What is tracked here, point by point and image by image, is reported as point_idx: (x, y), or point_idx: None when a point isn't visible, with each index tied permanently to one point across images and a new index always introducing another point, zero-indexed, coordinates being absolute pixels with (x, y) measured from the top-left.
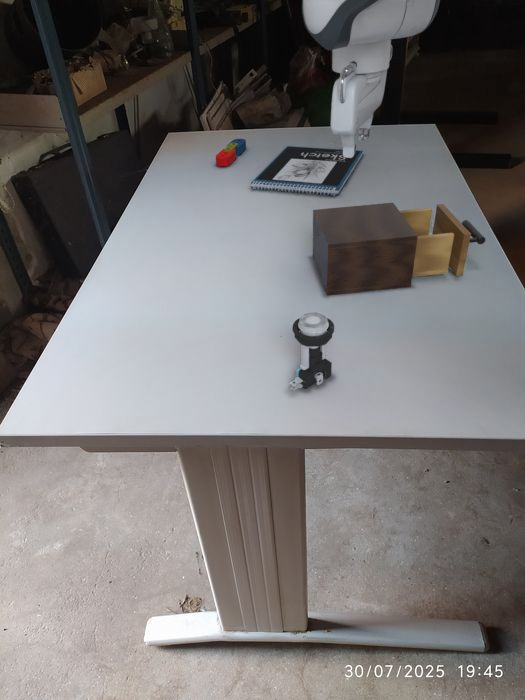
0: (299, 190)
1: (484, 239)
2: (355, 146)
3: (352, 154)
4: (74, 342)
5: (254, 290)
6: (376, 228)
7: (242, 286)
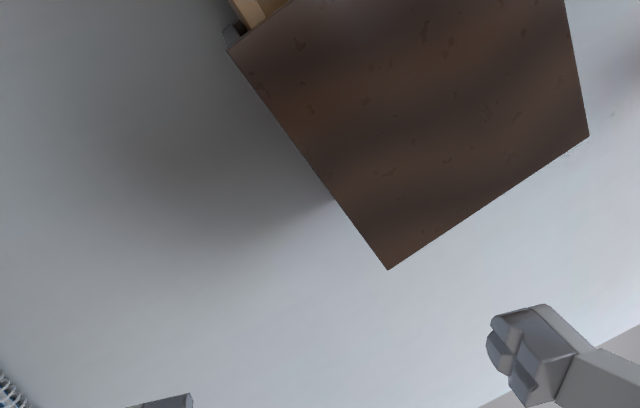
0: (19, 397)
1: None
2: (548, 350)
3: (553, 315)
4: (613, 324)
5: (485, 225)
6: (484, 33)
7: (476, 248)
